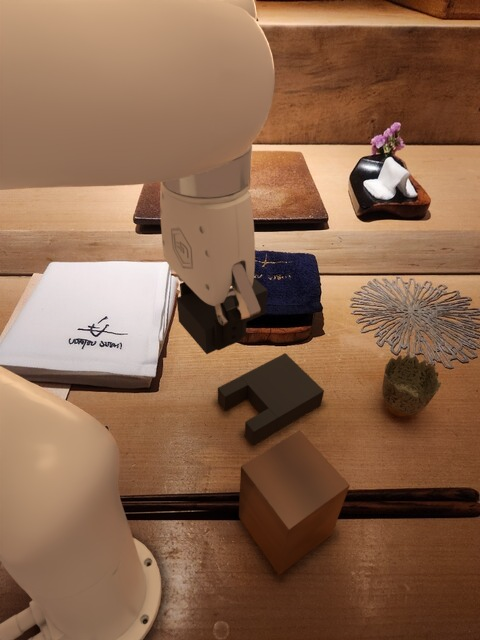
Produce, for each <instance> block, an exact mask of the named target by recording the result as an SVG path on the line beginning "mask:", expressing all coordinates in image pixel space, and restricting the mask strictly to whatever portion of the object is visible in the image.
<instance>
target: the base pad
mask: <svg viewBox="0 0 480 640" xmlns="http://www.w3.org/2000/svg"><path fill="white" fill-rule="evenodd" d="M324 393H325V390H324V389H323V388H322V387H321V386H320V385H319V384H318V383H317V382H316V381H315V380H314V379H313V378H312V377H311V376H310V375H309V374H308V373H307V372H305V370H304V369H303V368H302V367H301V366H300V365H299V364H298V363H297V362H296V361H294V359H292V357H290V356H289V355H288V354H287V353H286V352H284V353H283V354H281V355H279V356H277V357H275V358H273V359H271V360H269V361H267V362H265V363H263V364H261V365H259V366H257V367H255V368H253V369H252V370H249V371H247V372H246V373H243V374H242V375H240V376H238V377H236V378H234V379H232V380H230V381H229V382H226V383H224V384H223V385H220V386H218V387H217V403H218V404H219V406H220V408H221V409H222V410H223V411H224V412H228V411H229V410H230V409H232V408H234V407H236V406H238V405H240V404H241V403H243V402H245V401H248V402H249V403H250V405H251V406H252V407H253V408H254V409H255V410H256V411H257V413H258V414H256V415H254V416H252V417H250V418H249V419H247V420H246V421H245V423H244V437H245V438H246V440H247V442H249V443H250V444H251V446H252V447H254V446H256V445H257V444H259V443H260V442H262V441H265V440H266V439H267V438H269V437H271V436H272V435H274V434H276V433H277V432H279V431H281V430H283V429H284V428H286V427H287V426H289V425H290V424H292V423H294V422H296V421H297V420H299V419H301V418H302V417H304V416H305V415H307V414H309V413H310V412H312V411H313V410H315V409H317V408H319V407H321V406H322V401H323V398H324Z"/></svg>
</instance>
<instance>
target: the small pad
mask: <svg viewBox="0 0 480 640" xmlns="http://www.w3.org/2000/svg"><path fill="white" fill-rule="evenodd" d="M252 289H253V291H254V293H255V296H256V298H257V301H258V303H259V306H260V308H261V312H260V313H258V314H256V315H253V316H251V317H249V318H245V319H243V337H242V339H243V338H245V337H247V322H250V321H252V320H254V319H257V318H258V317H261V316H263V315H265V314H266V313H267V302H268V289H267V288H266V287H265V286H264V285H263V284H262V283H260V281H259V280H257V279H256V278H254V280H253V285H252ZM224 304H225V309H226V310H228V309H231V308H233V307H235V302H234V298H233V296H232V297H230V298H228V299H225V300H224ZM176 305H177V317H178V323H179V324H180V325H181V326H182V327H183V328H184V329H185V331H186V332H187V333H188V335H189V336H190V337H191V338H192V339H193V340H194V342H195V343H196V344H197V346H199V347H200V348H201V350H203V352H204V353H205V355H209V354H211V353H213V352H215V351H218V350H217V349H216V348H215V347H214V323H213V320H215V319H216V318H217V315H216V310H215V306H212V305H209V304H207V303H205V302H204V301H203V300H202V299H200V298H199V297H198V296H197V295H196V294H195V293H194V291H193V292H190V293H188V294H185V295H183V296H181V295H180V296H177V297H176Z"/></svg>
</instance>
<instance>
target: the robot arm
mask: <svg viewBox="0 0 480 640" xmlns="http://www.w3.org/2000/svg"><path fill="white" fill-rule="evenodd" d="M275 74H276V73H275V64H274V57H273V53H272V50H271V47H270V44H269V41H268V39H267V37H266V34H265V32H264V30H263V29H262V28H261V25H259V23H258V22H257V7H256V2H255V0H0V191H7V190H9V191H10V190H25V189H29V190H30V189H50V188H84V187H86V188H87V187H88V188H89V187H91V188H92V187H116V186H118V187H120V186H138V185H148V184H156V183H160V193H159V194H160V195H159V196H160V197H159V199H160V200H159V208H160V209H159V210H160V213H159V214H160V228H161V229H160V230H161V243H162V254H163V257H164V260H165V261H166V263H167V264H168V266H169V267H170V268H171V269H172V270H173V272H174V273H175V274H176V276H177V279H178V281H179V282H180V283H179V292H180V296H183V295H185V294H188V293H190V292H193V291H194V293H195V294H196V295H197V296H198V297H199V298H200V299H202V300H203V301H204V302H205V303H207V304H209V305H212V306H215V310H216V315H217V318H216V319H215V320H213V323H214V347H215V348H216V349H217V350H216V351H221V350H223V349H225V348H227V347H230V346H232V345H234V344H237V343H239V342H240V341H242V340H243V338H244V337H243V319H245V318H249V317H251V316H253V315H256V314H258V313H260V312H261V308H260V306H259V303H258V301H257V298H256V296H255V293H254V291H253V289H252V285H253V280H254V279H255V268H256V265H255V264H256V245H255V243H256V242H255V222H254V212H253V203H252V196H251V195H252V194H251V193H250V189H251V186H252V161H253V160H252V159H253V143H254V142H255V141H256V139H257V137H258V136H259V135H260V133H261V132H262V130H263V128H264V126H265V125H266V122H267V119H268V118H269V114H270V111H271V108H272V105H273V99H274V95H275V86H276V85H275V84H276V77H275V76H276V75H275ZM232 296H233V298H234V302H235V307H233V308H231V309H228V310H226V309H225V304H224V300H225V299H228V298H230V297H232ZM242 337H243V338H242ZM120 470H121V455H120V449H119V445H118V443H117V441H116V438H115V437H114V435H113V433H111V432H110V430H109V429H108V428H107V427H106V426H105V425H104V424H103V423H101V422H100V421H99V420H98V419H96V418H95V417H94V416H92V415H91V414H89V412H86V411H85V410H83V409H82V408H81V407H79V406H77V405H75V404H74V403H71V402H70V401H68V400H66V399H65V398H63V397H61V396H60V395H59V396H58V395H57V394H55V393H53V392H51V391H49V390H47V389H45V387H42V386H39V385H38V384H36V383H34V382H31V381H29V380H28V379H25V378H23V377H22V376H20V375H18V374H16V373H15V372H13V371H10V370H9V369H7V368H5V367H3V366H1V365H0V562H1V564H2V566H3V568H4V569H5V571H6V572H7V573H8V575H9V576H10V577H11V578H12V579H13V580H14V581H15V583H16V584H17V585H18V586H19V587H20V588H21V589H22V590H23V591H24V592H25V593H26V594H27V595H28V596H29V598H30V599H31V601H29V606H28V607H27V608H25V609H24V610H22V611H20V612H19V613H17V614H16V613H15V614H14V615H12V616H11V617H9V618H7V619H6V620H4V621H3V622H1V623H0V640H16V639H17V638H19V637H20V636H22V635H23V634H24V633H25V632H26V631H28V630H29V629H31V628H33V627H34V626H38V627H39V630H40V632H39V633H36V635H33V636H31V637H30V638H28V639H27V640H144V639H145V638H146V636H147V634H148V633H149V632H150V630H151V629H152V627H153V625H154V622H155V621H156V618H157V615H158V612H159V609H160V605H161V601H162V600H161V599H162V593H163V589H162V577H161V572H160V569H159V566H158V563H157V560H156V559H155V557H154V555H153V553H152V552H151V550H150V549H149V548H148V547H147V546H146V545H145V544H144V543H143V542H141V541H140V540H138V539H137V538H135V537H133V533H132V530H131V527H130V524H129V521H128V518H127V516H126V512H125V510H124V506H123V504H122V500H121V496H120V490H119V489H120V488H119V483H120V482H119V481H120V472H121V471H120ZM148 564H150V565H149V566H148ZM146 620H147V622H146V623H144V621H146Z"/></svg>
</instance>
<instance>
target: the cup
mask: <svg viewBox="0 0 480 640" xmlns="http://www.w3.org/2000/svg"><path fill="white" fill-rule="evenodd" d="M438 379H439V372H438V371H436V366H435V365H433V364H427V360H426V359H423V360H421V361H419V359H418V357H417V356H415V355H414V356H412V357H411V355H410V354H407V355H405V356H404V357H403V356H402V354H401V355H400V354H399V355H398V356H397V357H396V358H393V357H391V358H390V359H389V360H388V362H387V363H386V364H385V367H384V375H383V380H382V386H381V393H382V398H383V401H384V402H385V404H386V407H387V409H388V411H389V413H391V415H393V416H395V417H397V418H406V417H409V416H410V415H414V414H418V413H419V412H421V411H423V410H424V409H425V408H426V407H427V406H428V405H429V403H430V402H431V401H432V399H433V398H434V396H435V395H436V394H437V393H438V391H439V390H440V387H441V386H442V382H439V380H438Z"/></svg>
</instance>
